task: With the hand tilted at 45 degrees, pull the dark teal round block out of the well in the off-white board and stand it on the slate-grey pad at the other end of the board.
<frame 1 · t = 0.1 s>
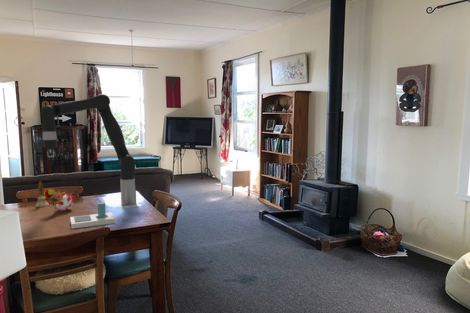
hand: (51, 165, 219), 29 cm above the table, tool pointing down, fingers open, 8 cm apart
slate pad: (82, 219, 198), resting on well board
teal block: (102, 221, 203), resting on well board
hand bell: (42, 205, 239), on the table
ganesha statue: (61, 211, 225), on the table
well board: (92, 223, 201), on the table
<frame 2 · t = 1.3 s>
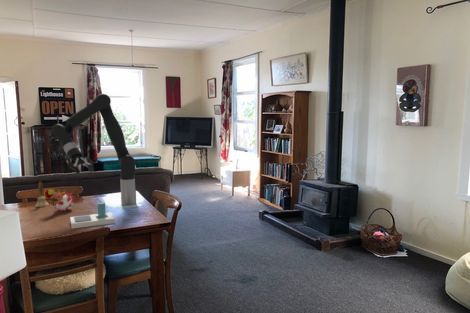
hand: (85, 172, 211), 27 cm above the table, tool tilted 45°, fingers open, 8 cm apart
nothing on the table moved.
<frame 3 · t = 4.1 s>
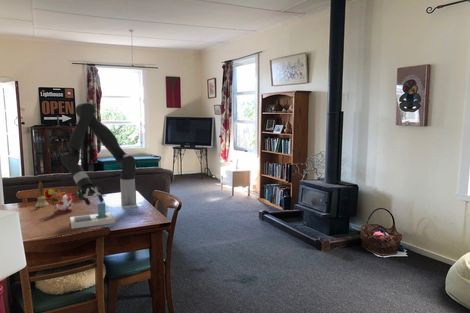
hand: (95, 203, 204), 10 cm above the table, tool tilted 45°, fingers open, 8 cm apart
nothing on the table moved.
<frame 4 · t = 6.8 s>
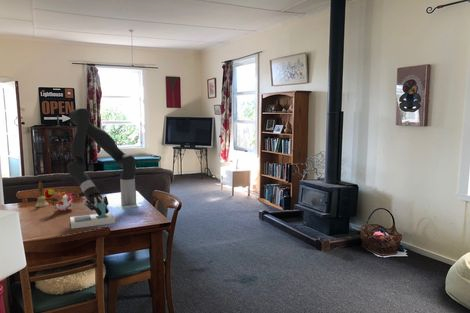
hand: (104, 213, 201), 5 cm above the table, tool tilted 45°, fingers closed on teal block, 4 cm apart
teal block: (102, 221, 203), point 1 cm above the table, touching gripper, well board
everything else where it was.
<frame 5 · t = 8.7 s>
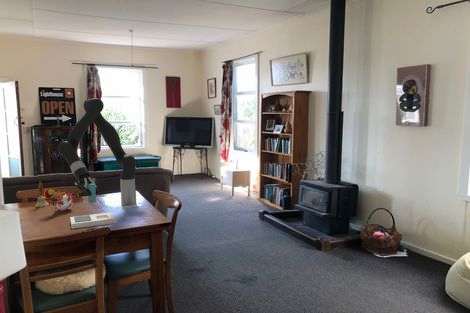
hand: (94, 194, 197), 16 cm above the table, tool tilted 45°, fingers closed on teal block, 4 cm apart
teal block: (92, 202, 199), point 12 cm above the table, touching gripper
everything else where it was.
when the fingers open (9 cm above the table, at t = 11.1 s): teal block stays where it is, resting on slate pad.
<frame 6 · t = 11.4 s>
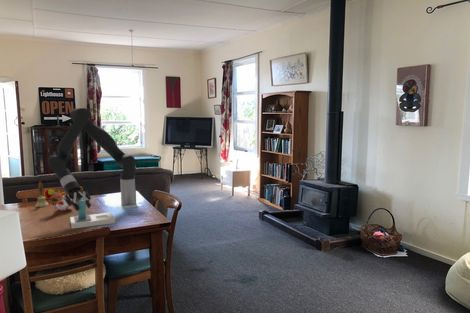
hand: (84, 208, 196), 9 cm above the table, tool tilted 45°, fingers open, 6 cm apart
teal block: (82, 218, 198), point 3 cm above the table, touching slate pad
everything else where it was.
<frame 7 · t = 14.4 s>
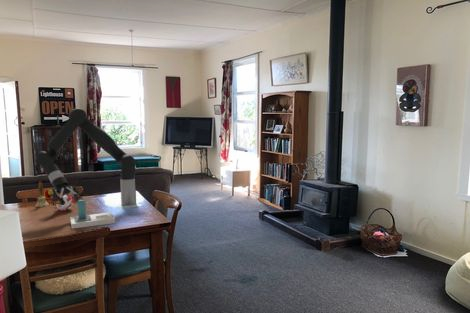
hand: (71, 202, 204), 10 cm above the table, tool tilted 45°, fingers open, 8 cm apart
nothing on the table moved.
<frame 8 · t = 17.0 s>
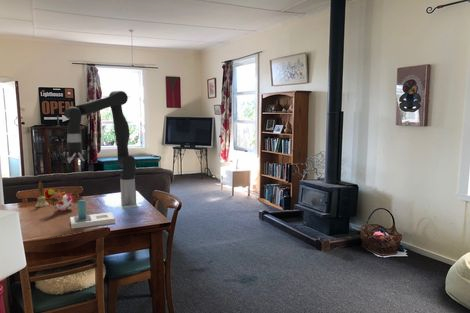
hand: (75, 168, 215), 28 cm above the table, tool pointing down, fingers open, 8 cm apart
nothing on the table moved.
at the end: teal block inside the target area on the slate pad (0.1 cm from its centre), point 0.4 cm above the slate pad's base; teal block tilted 1°; the gripper is holding nothing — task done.
